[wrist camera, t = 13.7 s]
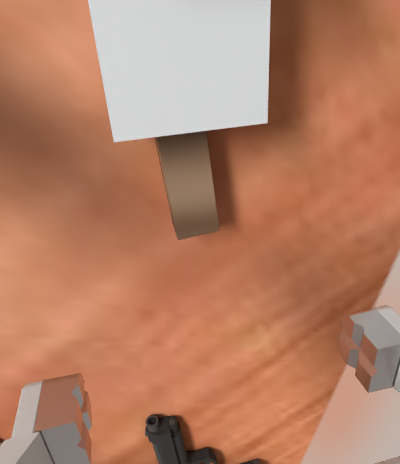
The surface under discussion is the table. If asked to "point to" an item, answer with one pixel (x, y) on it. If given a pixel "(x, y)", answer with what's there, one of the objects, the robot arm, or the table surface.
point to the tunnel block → (182, 64)
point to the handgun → (175, 443)
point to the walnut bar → (188, 183)
